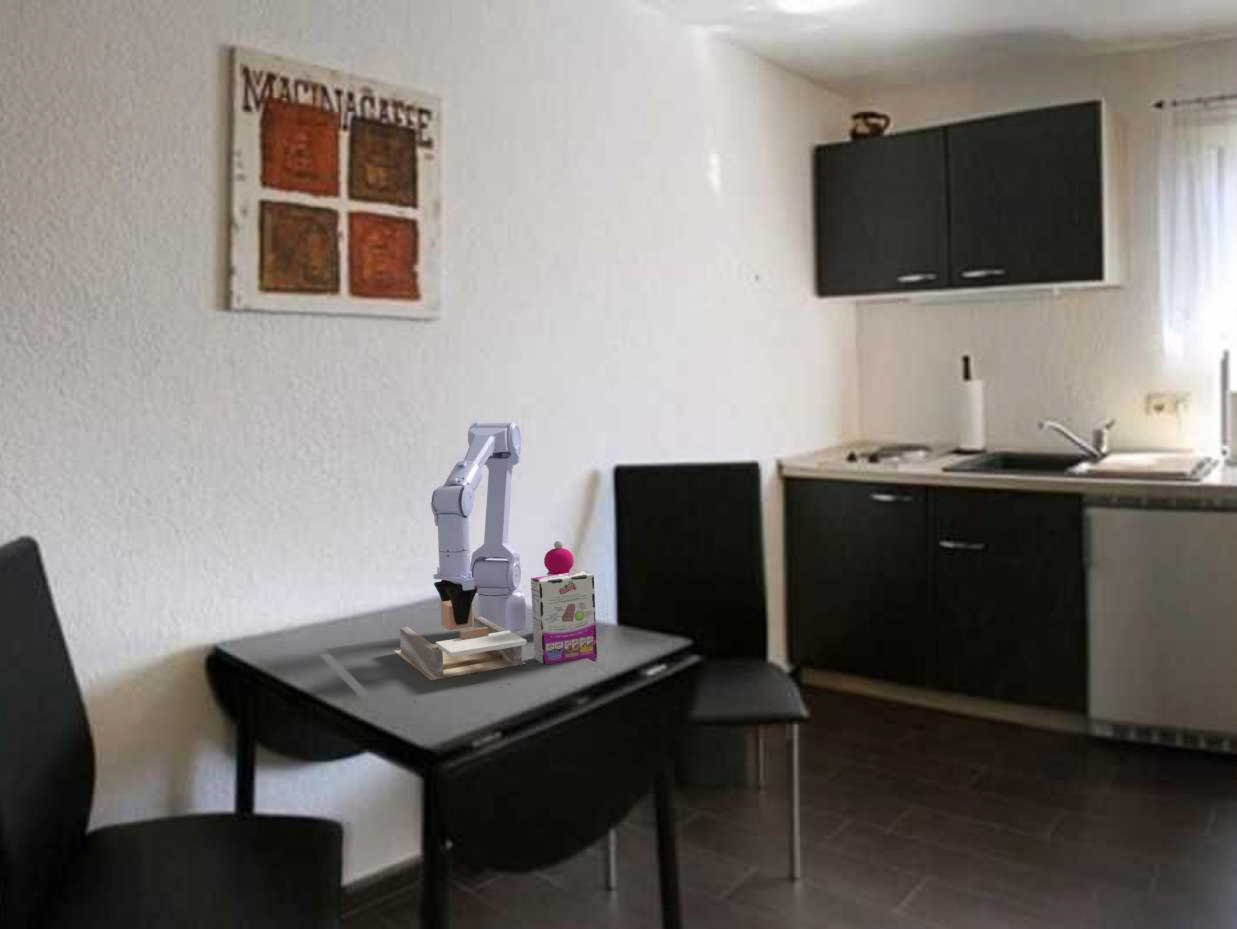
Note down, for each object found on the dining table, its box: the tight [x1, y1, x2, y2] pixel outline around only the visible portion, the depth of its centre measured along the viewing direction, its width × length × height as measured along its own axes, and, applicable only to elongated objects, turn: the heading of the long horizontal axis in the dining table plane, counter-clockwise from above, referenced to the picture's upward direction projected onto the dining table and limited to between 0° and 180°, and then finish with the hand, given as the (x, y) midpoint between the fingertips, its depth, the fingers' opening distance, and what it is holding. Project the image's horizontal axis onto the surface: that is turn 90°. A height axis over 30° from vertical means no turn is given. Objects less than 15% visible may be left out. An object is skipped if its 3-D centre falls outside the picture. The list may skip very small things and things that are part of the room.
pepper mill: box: [543, 540, 575, 576], centre depth 200 cm, size 7×7×20 cm
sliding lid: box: [435, 627, 528, 657], centre depth 174 cm, size 14×8×2 cm, turn 119°
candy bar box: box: [530, 570, 598, 665], centre depth 183 cm, size 11×5×16 cm, turn 117°
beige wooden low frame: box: [394, 615, 526, 681], centre depth 185 cm, size 18×22×6 cm
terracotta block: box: [440, 600, 474, 631], centre depth 184 cm, size 4×4×4 cm
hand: (456, 621), depth 185 cm, fingers closed on terracotta block, 4 cm apart
